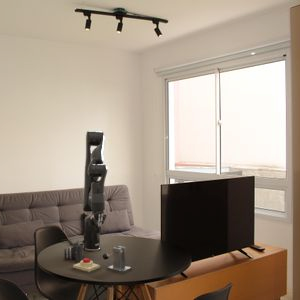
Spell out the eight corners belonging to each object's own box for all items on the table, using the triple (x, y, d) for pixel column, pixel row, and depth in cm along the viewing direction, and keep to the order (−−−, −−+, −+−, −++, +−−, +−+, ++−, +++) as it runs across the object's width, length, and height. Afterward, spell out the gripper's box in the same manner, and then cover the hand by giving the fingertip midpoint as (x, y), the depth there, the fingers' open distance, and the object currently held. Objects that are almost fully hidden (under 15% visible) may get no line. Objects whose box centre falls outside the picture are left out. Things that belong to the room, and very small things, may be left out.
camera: (65, 255, 229) (64, 239, 229) (83, 255, 229) (83, 239, 229) (64, 263, 215) (64, 245, 215) (83, 263, 215) (83, 245, 215)
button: (81, 262, 204) (81, 259, 204) (86, 260, 207) (86, 257, 207) (86, 263, 202) (86, 260, 202) (91, 262, 204) (91, 258, 204)
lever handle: (102, 260, 208) (100, 255, 209) (106, 259, 210) (104, 253, 211) (120, 253, 200) (118, 247, 201) (123, 252, 203) (121, 246, 203)
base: (107, 269, 203) (106, 247, 203) (115, 266, 209) (115, 244, 209) (122, 273, 196) (122, 250, 196) (131, 269, 202) (131, 247, 202)
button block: (73, 269, 205) (73, 261, 204) (84, 265, 211) (84, 257, 211) (89, 273, 197) (89, 265, 197) (100, 269, 204) (99, 261, 204)
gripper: (99, 199, 215) (100, 230, 215) (84, 201, 205) (85, 234, 205) (110, 200, 210) (111, 232, 211) (95, 203, 200) (96, 236, 200)
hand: (98, 233), depth 208 cm, fingers closed
